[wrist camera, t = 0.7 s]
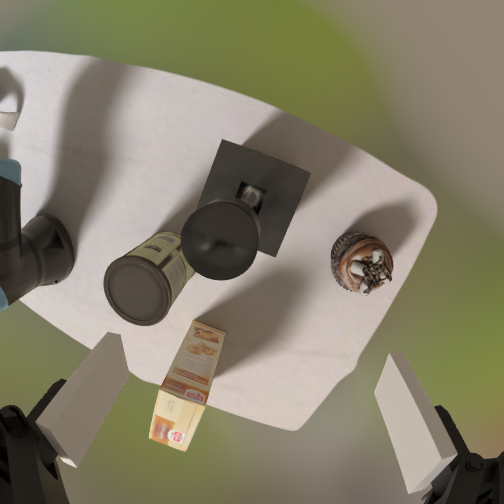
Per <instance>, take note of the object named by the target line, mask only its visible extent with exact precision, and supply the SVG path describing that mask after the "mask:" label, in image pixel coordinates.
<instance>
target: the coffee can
mask: <svg viewBox="0 0 504 504" xmlns="http://www.w3.org/2000/svg"><path fill="white" fill-rule="evenodd" d="M194 271H195V270H194V269H193V268H192V267H191V266H190V265H189V264H188V262H187V261H186V259H185V257H184V255H183V252H182V248H181V236H180V235H178V234H175V233H172V232H159V233H157V234H155V235H153V236H152V237H150V238H149V239H147V240H146V241H145V242H143V243H142V244H140V245H139V246H137V247H136V248H134V249H133V250H131V251H130V252H128V253H127V254H125V255H124V256H122V257H120V258H118V259H116V260H115V261H113V262H112V263H111V264H110V265H109V267H108V268H107V270H106V272H105V276H104V291H105V295H106V297H107V300H108V302H109V304H110V305H111V307H112V308H113V310H114V311H115V312H116V313H117V314H118V315H119V316H120V317H122V318H123V319H124V320H126V321H128V322H130V323H132V324H135V325H139V326H150V325H154V324H157V323H159V322H160V321H161V320H163V319H164V318H165V316H166V315H167V313H168V311H169V309H170V307H171V306H172V304H173V303H174V301H175V300H176V298H177V297H178V295H179V294H180V292H181V291H182V289H183V288H184V286H185V285H186V283H187V282H188V280H189V279H190V278H191V277H192V275H193V273H194Z"/></svg>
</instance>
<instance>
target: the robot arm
mask: <svg viewBox="0 0 504 504" xmlns="http://www.w3.org/2000/svg"><path fill="white" fill-rule="evenodd" d="M21 188H22V183H21V165H20V164H19V162H18V161H16V160H12V159H3V158H0V311H2V310H4V309H6V308H8V306H9V305H11V304H12V303H14V302H15V301H17V300H18V299H20V298H21V297H23V296H24V295H26V294H27V293H29V292H30V291H32V290H33V289H35V288H36V287H38V286H46V285H54V284H57V283H59V282H61V281H62V280H64V279H65V278H67V277H68V275H69V274H70V272H71V270H72V266H73V248H72V243H71V240H70V237H69V235H68V233H67V231H66V229H65V228H64V226H63V225H62V224H61V222H60V221H59V220H57V219H56V218H55V217H53V216H51V215H40V216H37V217H35V218H33V219H31V220H30V221H29V222H28V223H27V224H26V225H25V226H24V227H23V228H22V229H21V211H20V197H21ZM129 376H130V374H129V370H128V366H127V362H126V358H125V353H124V349H123V344H122V340H121V335H120V334H115V333H110V332H107V333H106V335H105V336H104V337H103V338H102V339H101V340H100V342H99V343H98V344H97V345H96V346H95V347H94V349H93V350H92V351H91V352H90V353H89V355H88V356H87V357H86V358H85V359H84V361H83V362H82V363H81V365H79V367H78V368H77V369H76V370H75V372H74V373H73V374H72V375H71V377H70V378H69V379H68V380H64V379H60V380H59V381H57V382H56V383H54V384H53V385H52V386H51V387H50V388H49V390H48V391H47V393H46V394H45V395H44V396H43V398H42V399H41V400H40V401H39V402H38V403H37V405H36V406H35V407H34V408H33V410H32V411H31V412H30V414H29V415H28V416H27V417H25V415H24V414H23V412H22V411H21V409H20V408H19V407H17V406H15V405H8V406H5V407H3V408H2V409H0V504H70V503H69V501H68V498H67V495H66V492H65V489H64V485H63V482H62V479H61V475H60V471H59V467H58V464H57V462H56V459H55V458H56V457H57V455H59V457H60V458H61V459H62V460H63V462H65V463H67V464H69V465H72V466H74V467H76V468H78V467H79V465H80V463H81V461H82V459H83V457H84V455H85V453H86V452H87V449H88V448H89V446H90V444H91V442H92V441H93V439H94V437H95V435H96V434H97V432H98V430H99V428H100V426H101V425H102V422H103V421H104V419H105V418H106V415H107V414H108V412H109V411H110V409H111V407H112V405H113V404H114V402H115V400H116V398H117V397H118V395H119V393H120V392H121V389H122V388H123V386H124V384H125V383H126V381H127V380H128V378H129ZM374 394H375V397H376V399H377V402H378V405H379V407H380V410H381V413H382V415H383V418H384V421H385V424H386V426H387V429H388V432H389V435H390V438H391V441H392V444H393V447H394V450H395V453H396V456H397V459H398V462H399V465H400V468H401V471H402V474H403V477H404V481H405V484H406V487H407V491H408V493H409V494H410V493H414V492H417V491H420V490H424V488H426V487H427V486H428V485H429V484H430V483H431V484H432V487H433V488H432V489H431V490H430V491H429V492H428V493H426V494H425V495H424V496H423V498H422V499H421V500H424V499H425V498H426V497H427V498H426V500H425V502H424V504H504V451H503V452H502V453H501V454H500V455H499V456H498V457H497V458H491V459H483V458H482V457H481V456H480V455H478V454H477V453H470V451H469V450H468V448H467V446H466V444H465V442H464V440H463V438H462V436H461V435H460V433H459V431H458V429H457V428H456V425H455V424H454V422H453V420H452V418H451V416H450V414H449V413H448V411H447V410H445V409H444V408H443V407H442V406H441V405H439V406H435V407H434V406H433V404H432V402H431V401H430V399H429V397H428V395H427V394H426V392H425V390H424V388H423V386H422V385H421V383H420V381H419V379H418V378H417V376H416V374H415V372H414V371H413V369H412V367H411V366H410V364H409V362H408V361H407V359H406V357H405V356H404V354H403V353H402V352H399V353H389V355H388V358H387V361H386V364H385V367H384V369H383V372H382V374H381V377H380V379H379V382H378V384H377V387H376V389H375V392H374Z"/></svg>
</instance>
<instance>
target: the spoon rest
mask: <svg viewBox="0 0 504 504" xmlns="http://www.w3.org/2000/svg"><path fill="white" fill-rule="evenodd" d="M19 114H20V113H19V112H1V111H0V128H3V129H5V130H9V131H13V129H14V127H15V125H16V122H17V120H18V117H19Z"/></svg>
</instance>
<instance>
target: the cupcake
mask: <svg viewBox="0 0 504 504" xmlns="http://www.w3.org/2000/svg"><path fill="white" fill-rule="evenodd" d="M331 270H332V274H333V275H334V278H335V280H336V282H338V284H340V286H343V288H344V289H345V288H346V290H350V291H351V292H352V291H353V292H358V293H360V295H361V296H367V295H368V294H369V293H370V291H372V290H375V289H377V288H379V287H380V286H382V285H383V284H385V283H389V282H390V281H391V280H392V276H391V273H392V270H393V260H392V256H391V254H390V252H389V250H388V249H387V247H386V246H385V244H384V243H383V242H382V241H381V240H380V239H378V238H377V237H375V236H374V235H370V234H366V233H360V232H350V233H345V234H344V235H343V236H341V237H339V238H338V239H337V240H336V242H335V243H334V245H333V248H332V250H331Z"/></svg>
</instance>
